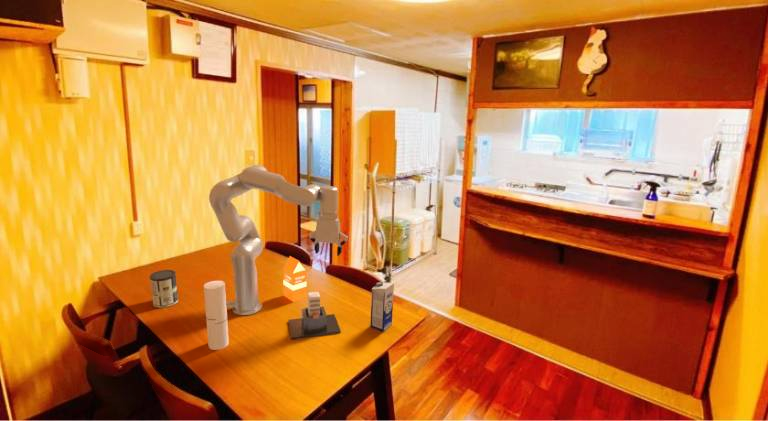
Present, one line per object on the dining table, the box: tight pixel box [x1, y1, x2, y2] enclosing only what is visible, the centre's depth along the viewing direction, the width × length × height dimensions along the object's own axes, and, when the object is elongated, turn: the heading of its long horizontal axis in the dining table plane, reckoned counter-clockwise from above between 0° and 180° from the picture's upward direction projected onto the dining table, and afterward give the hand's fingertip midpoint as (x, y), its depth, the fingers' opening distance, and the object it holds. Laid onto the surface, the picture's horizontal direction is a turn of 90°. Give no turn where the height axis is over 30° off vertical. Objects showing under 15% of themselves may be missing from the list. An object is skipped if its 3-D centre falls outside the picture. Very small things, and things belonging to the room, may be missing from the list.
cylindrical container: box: [203, 280, 230, 351], centre depth 143 cm, size 7×7×25 cm
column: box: [307, 291, 321, 317], centre depth 158 cm, size 4×5×14 cm
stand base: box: [288, 306, 342, 341], centre depth 159 cm, size 20×14×9 cm
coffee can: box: [149, 269, 179, 309], centre depth 173 cm, size 10×10×14 cm
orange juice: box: [282, 255, 308, 303], centre depth 184 cm, size 8×9×20 cm
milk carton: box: [369, 281, 395, 333], centre depth 161 cm, size 7×7×20 cm
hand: (328, 253), depth 164 cm, fingers open, 9 cm apart
